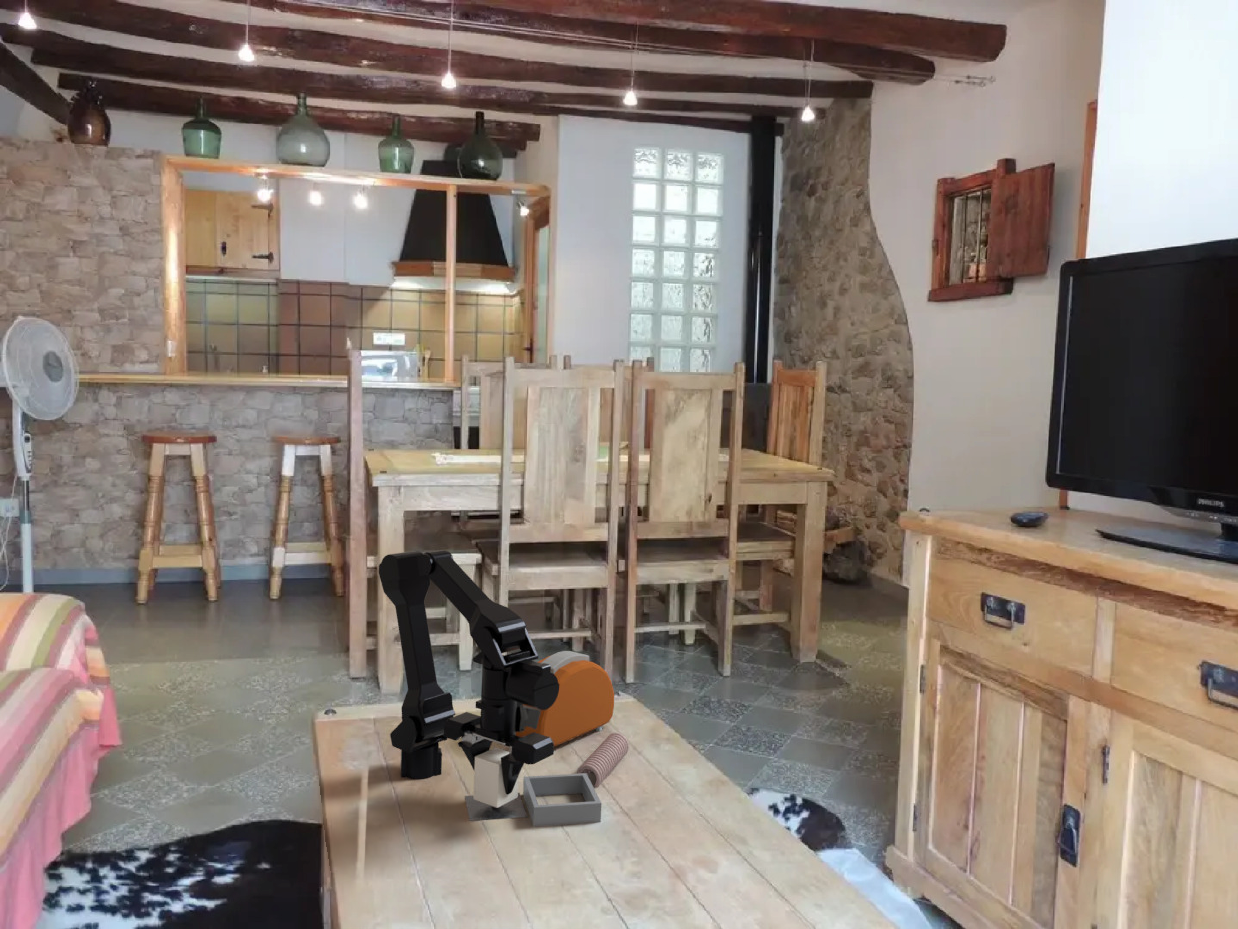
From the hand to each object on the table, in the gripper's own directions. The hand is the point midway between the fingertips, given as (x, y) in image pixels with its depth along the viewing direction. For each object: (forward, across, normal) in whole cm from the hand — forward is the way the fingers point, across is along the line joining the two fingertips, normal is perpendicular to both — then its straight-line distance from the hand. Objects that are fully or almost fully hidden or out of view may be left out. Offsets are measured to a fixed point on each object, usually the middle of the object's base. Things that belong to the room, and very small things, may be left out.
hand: (496, 789), depth 152 cm
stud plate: (+4, 0, 0) cm, 4 cm away
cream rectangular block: (+2, 0, 0) cm, 2 cm away
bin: (+4, -8, -6) cm, 11 cm away
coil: (+4, -4, -24) cm, 25 cm away
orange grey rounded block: (+4, +12, -33) cm, 35 cm away
